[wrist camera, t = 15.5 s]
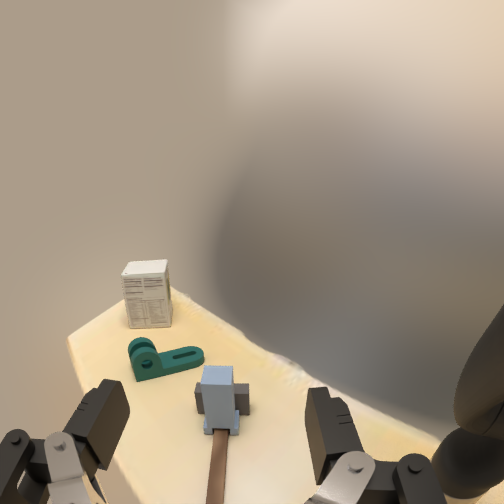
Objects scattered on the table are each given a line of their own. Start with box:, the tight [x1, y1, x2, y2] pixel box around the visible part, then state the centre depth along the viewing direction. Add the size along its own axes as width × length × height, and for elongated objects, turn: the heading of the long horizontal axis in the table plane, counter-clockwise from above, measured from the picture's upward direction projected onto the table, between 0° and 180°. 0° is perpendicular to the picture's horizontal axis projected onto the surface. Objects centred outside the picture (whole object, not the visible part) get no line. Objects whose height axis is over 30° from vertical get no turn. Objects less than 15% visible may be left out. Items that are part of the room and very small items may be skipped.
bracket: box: [128, 337, 204, 382], centre depth 66 cm, size 18×7×8 cm, turn 120°
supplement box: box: [121, 260, 173, 329], centre depth 88 cm, size 13×13×18 cm
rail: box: [206, 428, 229, 504], centre depth 37 cm, size 2×29×1 cm, turn 0°
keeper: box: [200, 365, 239, 435], centre depth 47 cm, size 6×5×13 cm
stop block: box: [194, 382, 249, 415], centre depth 52 cm, size 10×3×6 cm, turn 90°
